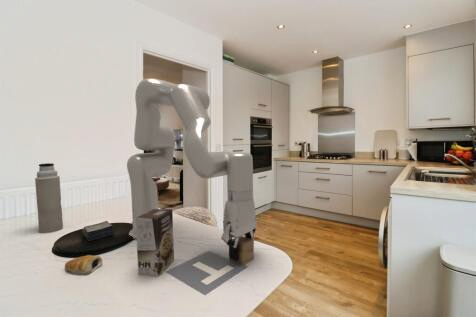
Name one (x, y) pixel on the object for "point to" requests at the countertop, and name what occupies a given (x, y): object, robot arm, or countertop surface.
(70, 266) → the pastry
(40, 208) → the thermos bottle
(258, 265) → the countertop surface
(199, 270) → the letter tile
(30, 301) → the countertop surface
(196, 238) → the countertop surface
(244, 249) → the walnut block
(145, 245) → the coffee box
